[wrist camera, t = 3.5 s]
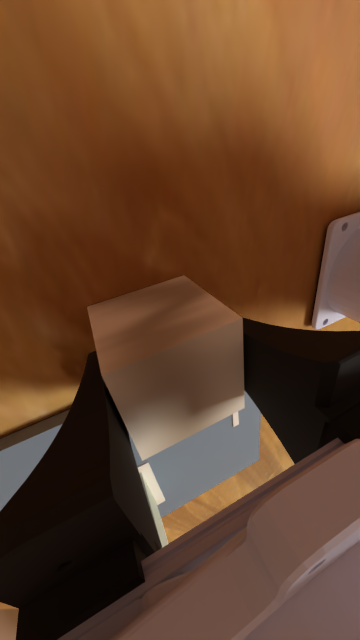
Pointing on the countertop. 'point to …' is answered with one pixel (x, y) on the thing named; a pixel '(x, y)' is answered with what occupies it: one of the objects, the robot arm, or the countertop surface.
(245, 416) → the board
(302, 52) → the countertop surface
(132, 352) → the cream block
